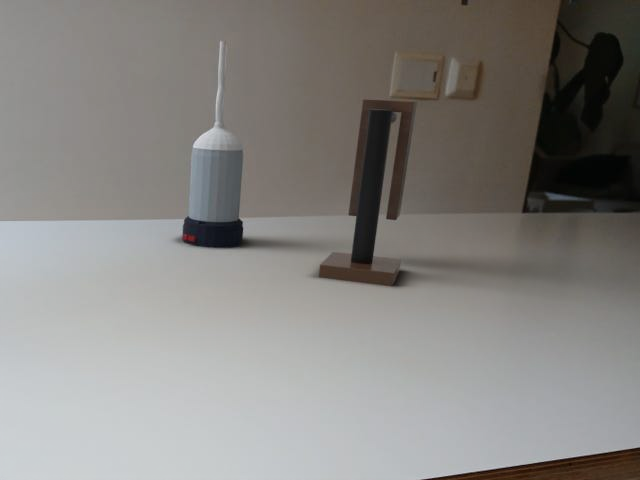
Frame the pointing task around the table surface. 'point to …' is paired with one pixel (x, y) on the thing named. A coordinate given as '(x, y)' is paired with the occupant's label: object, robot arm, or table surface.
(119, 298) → the table surface
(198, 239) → the humidifier
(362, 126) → the wooden arch frame
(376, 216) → the post on base
